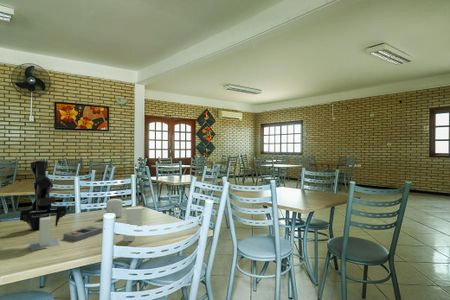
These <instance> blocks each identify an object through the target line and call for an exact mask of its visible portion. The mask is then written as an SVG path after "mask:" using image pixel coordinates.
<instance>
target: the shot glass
mask: <svg viewBox="0 0 450 300" xmlns="http://www.w3.org/2000/svg"><path fill="white" fill-rule="evenodd" d="M122 237H123V238H122V240H124V241H132V242H134V241H133V240H135V241H136V237H135V236H126V235H123V234H122ZM124 241H123V242H124Z"/></svg>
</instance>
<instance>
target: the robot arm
mask: <svg viewBox="0 0 450 300" xmlns="http://www.w3.org/2000/svg"><path fill="white" fill-rule="evenodd" d="M48 168H49V162H48V161H45V160H35V161H31V162H30V163H29V169H30V171H31V172H30V173H31V174H32V176H33V177H34V182H33V183H32V184H33V185H32V186H33V187H32V188H33V190H34V201H33V203H32V204H31V207H30V208H25V209H24V208H23V209H21V210H20V211H19V221H21V222H22V221H23V222H24V223H27V225H28V226H29V228H30V231H39V227H40V218H44V217H50V215H53V214H54V215H55V222H54V223H55V224H54V226H55V228H56V227H58V223H59V221H60V219H61V218H63V217H65V216H66V214H67V210H68V209H67V206H66V205H57V206H56V208H55V209H54V208H53V209H51V208H52V205H53V204H55V203H56V196H55V195H53V196H50V194H51V189H52V188H53V187H54V184H53V183H52V181H51V180H50V178H49V177H48V176H47V173H46V172H47V170H48Z"/></svg>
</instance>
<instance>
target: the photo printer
mask: <svg viewBox="0 0 450 300" xmlns="http://www.w3.org/2000/svg"><path fill="white" fill-rule="evenodd" d="M105 205H106V207H105V214H106V213H115V214H116V217H115V218H122V217H123V200H122V199H121V198H111V199H108V200H107V201H106V204H105Z"/></svg>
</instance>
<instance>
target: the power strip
mask: <svg viewBox="0 0 450 300" xmlns="http://www.w3.org/2000/svg"><path fill="white" fill-rule="evenodd" d="M103 230H104V229H103V227H97V226H91V225H90V226H86V227H83V228H80V229H76V230H73V231H69V232H65V233H63V235H62V236H63V238H62V239H63V240H67V241H72V242H79V241H82V240H84V239H88V238H91V237H94V236H97V235H100V234H102V233H103Z"/></svg>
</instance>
